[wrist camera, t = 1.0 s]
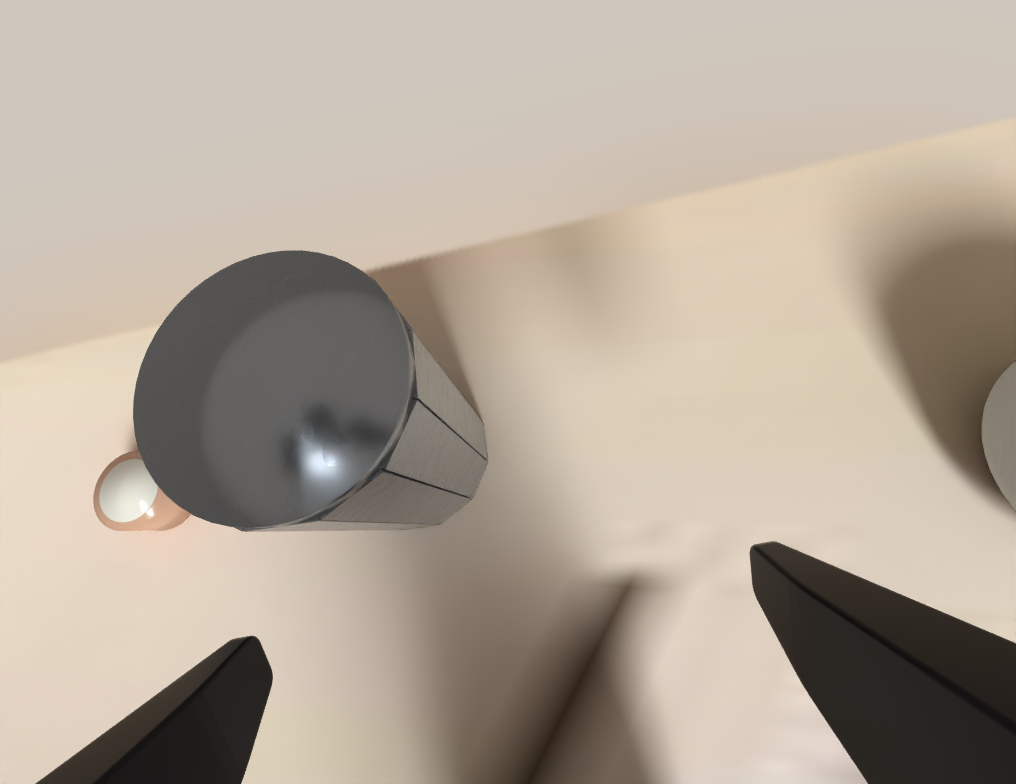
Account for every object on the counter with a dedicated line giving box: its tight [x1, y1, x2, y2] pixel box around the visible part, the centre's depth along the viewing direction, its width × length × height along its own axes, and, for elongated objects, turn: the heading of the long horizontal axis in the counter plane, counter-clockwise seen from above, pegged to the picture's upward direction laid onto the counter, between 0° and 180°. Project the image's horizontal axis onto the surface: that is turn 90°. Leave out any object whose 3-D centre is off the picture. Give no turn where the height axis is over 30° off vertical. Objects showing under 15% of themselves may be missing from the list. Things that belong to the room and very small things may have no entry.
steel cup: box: [133, 251, 488, 532], centre depth 19 cm, size 7×7×13 cm
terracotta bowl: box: [93, 451, 191, 531], centre depth 25 cm, size 4×4×2 cm
